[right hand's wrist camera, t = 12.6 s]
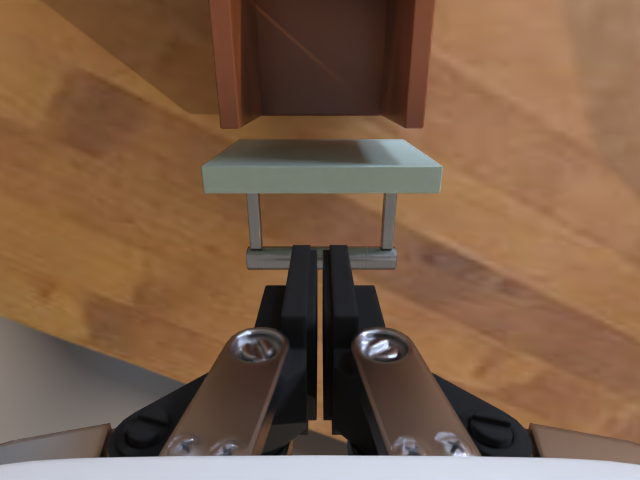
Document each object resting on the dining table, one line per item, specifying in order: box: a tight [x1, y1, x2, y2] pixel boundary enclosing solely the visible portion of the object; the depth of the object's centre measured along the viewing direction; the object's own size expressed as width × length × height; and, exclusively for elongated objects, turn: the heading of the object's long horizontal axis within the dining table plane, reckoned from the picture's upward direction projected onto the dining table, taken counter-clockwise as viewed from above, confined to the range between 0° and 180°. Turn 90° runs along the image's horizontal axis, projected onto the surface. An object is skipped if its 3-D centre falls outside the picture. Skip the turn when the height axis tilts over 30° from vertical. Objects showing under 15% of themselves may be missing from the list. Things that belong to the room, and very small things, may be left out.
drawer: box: [201, 0, 443, 270], centre depth 18 cm, size 24×10×8 cm, turn 0°
